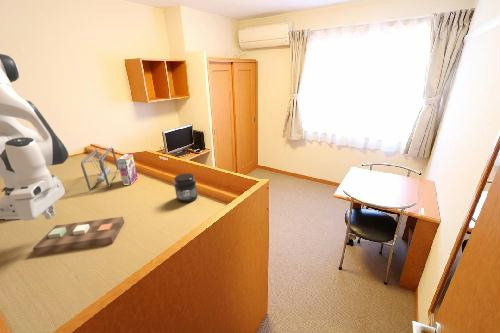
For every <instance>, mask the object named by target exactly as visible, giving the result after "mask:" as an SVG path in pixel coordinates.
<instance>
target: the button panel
mask: <svg viewBox="0 0 500 333" xmlns="http://www.w3.org/2000/svg"><path fill="white" fill-rule="evenodd" d="M111 223H112V224H113V225H112V227H111V228H110V230H107V231H100V232H98V229H99V228H100V226H101V225H104V224H111ZM85 224H89V226H90V228H89V230H88V231H87V232H86V234H79V235H74V234H73V230H74V229H75V228H76V227H77V226H78V225H85ZM124 224H125V219H124V216H119V217H117V216H115V217H109V218H103V219H95V220H87V221H81V222H71V223H65V224H57V225H55V226H54V227H52V229H50V230H49V232H47V233H46V235H44V236H43V237H42V238H41V240H39V241H38V242H37V243H36V244H35V245H34V246H33V247H32V250H33V252H34V254H35V256H38V255H44V254H45V255H46V254H50V253H57V252H64V251H69V250H71V251H72V250H78V249H85V248H92V247H97V246H102V245H111V244H114V243H115V240H116V238H117V237H118V236H119V233H120V232H121V229H122V228H123V226H124ZM63 227H65V228H66V230H67V231H66V232H65V233H64V234H63V236H62V237H58V238H51V239H49V237H48V234H49V233H50V232H51V231H52V230H53V229H56V228H63Z"/></svg>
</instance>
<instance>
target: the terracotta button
mask: <svg viewBox="0 0 500 333" xmlns="http://www.w3.org/2000/svg"><path fill="white" fill-rule="evenodd" d="M112 225H113V224H112V223H111V224H104V225H101V226H100V228H99V229H98V232H100V231H107V230H110V228H111V227H112Z"/></svg>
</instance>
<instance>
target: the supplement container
mask: <svg viewBox="0 0 500 333" xmlns="http://www.w3.org/2000/svg"><path fill="white" fill-rule="evenodd" d="M173 181H174V185H173V186H174V190H175V195H176V196H175V197H176V200H177V201H178V202H179V203H184V204H187V203H190V202H194V201H195V200H196V199H197V198H198V190H197V180H195V175H194V174H193V173H182V174H178V175H176V176H175V177H174V180H173Z"/></svg>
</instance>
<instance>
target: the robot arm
mask: <svg viewBox="0 0 500 333" xmlns="http://www.w3.org/2000/svg"><path fill="white" fill-rule="evenodd" d="M19 78H20V70H19V65H17V63H16V62H15V60H14V59H13V58H12V57H11V56H9V55H7V54H4V53H3V54H2V53H0V177H1V179H2V181H3V182H4V184H5V187H3V188H2V189H1V190H0V191H1V193H3V192H4V195H3V196H2V197H1V198H0V219H5V220H21V221H33V220H35V219H37V218H38V217H39V216H40V215H42V216H44V218H45V219H46V220H51V219H52V218H53V217H54V216H55V215H56V212H55V208H56V206H55V203H56V202H57V201H58V200H60V199H61V198H62V197H64V196H65V195H66V190H65V187H64V185H63V183H62V181H61V180H60V179H58V176H57V175H55V174H51V172H50V170H49V169H48V167H49V166H57V165H62V164H64V163H65V162H66V161H67V159H68V158H69V151H68V148H67V146H66V145H65V143H63V142H62V140H61V139H60V137H59V136H57V134H56V133H55V131H54V130H53V129H52V127H51V126H50V124H49V122H48V121H47V120H46V119H45V117H44V116H43V115H42V113H41V111H40V110H39V108H37V107H36V105H35V104H34V103H33V102H32V101H31V100H30V101H29V100H26V99H24V98H23V97H21V96H20V95H19V94H18V93H17V92H16V90H15V89H14V86H13V85H12V83H13V82H16V81H17V80H18V79H19ZM17 118H18V119H21V120H25V121H27V122H29V123H30V124H31V125H32V126H33V127H34V128H35V130H34V129H31V128H29V127H27V126H25V125H23V124H22V123H21V122H19V120H17ZM42 139H43V140H42Z"/></svg>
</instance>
